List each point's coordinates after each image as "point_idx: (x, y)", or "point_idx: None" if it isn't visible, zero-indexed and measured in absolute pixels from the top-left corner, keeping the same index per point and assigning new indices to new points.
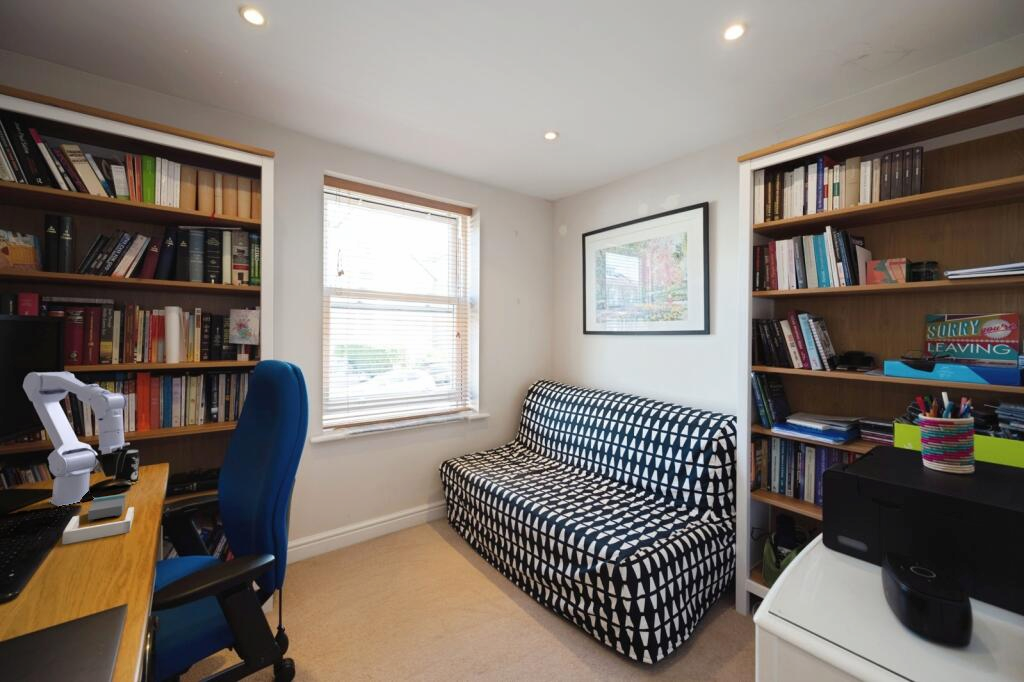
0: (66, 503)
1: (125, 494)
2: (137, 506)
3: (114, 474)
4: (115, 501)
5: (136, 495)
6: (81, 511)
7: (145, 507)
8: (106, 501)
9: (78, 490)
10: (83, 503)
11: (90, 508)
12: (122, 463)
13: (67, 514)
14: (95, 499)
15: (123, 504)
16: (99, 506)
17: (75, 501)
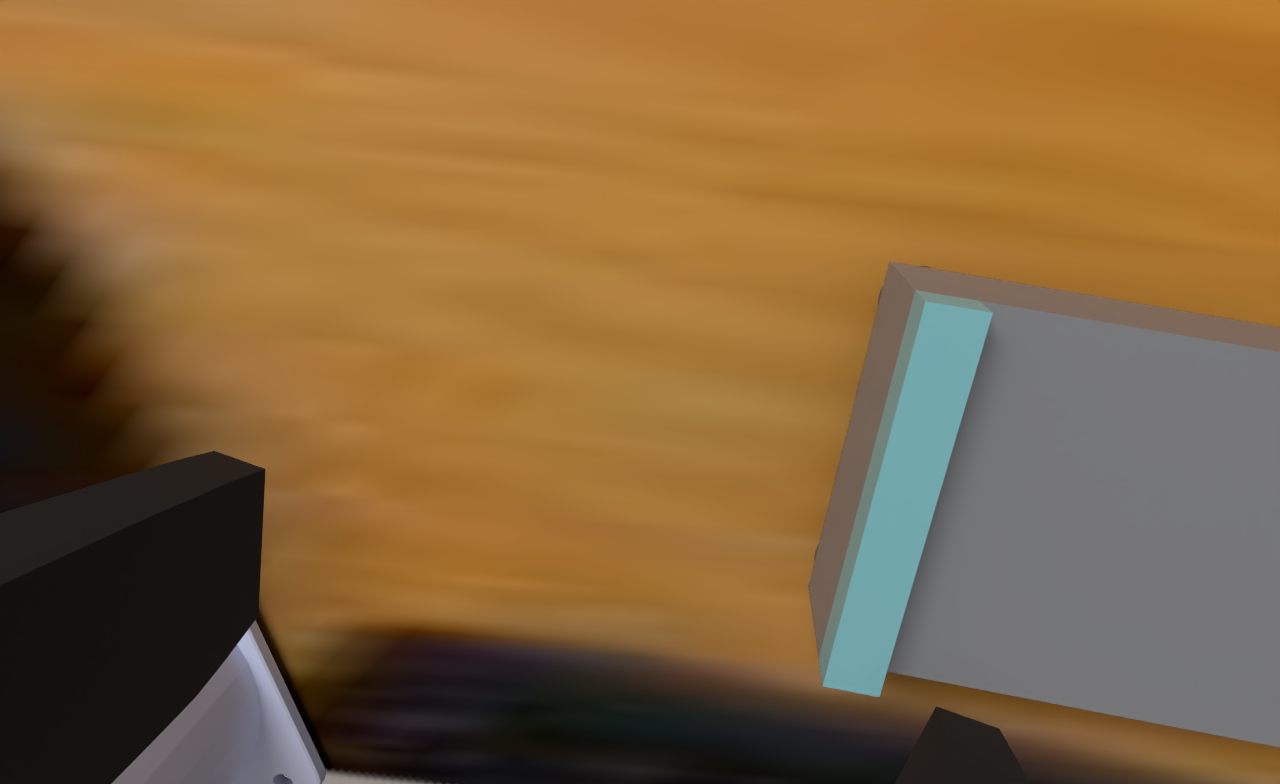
0: (270, 742)
1: (967, 307)
2: (1003, 104)
3: (1016, 769)
4: (1143, 448)
5: (300, 48)
6: (666, 647)
7: (1182, 7)
8: (1016, 544)
9: (156, 761)
10: (302, 600)
11: (1247, 732)
12: (22, 578)
13: (683, 750)
14: (879, 669)
15: (1265, 340)
16: (1250, 643)
17: (252, 680)
